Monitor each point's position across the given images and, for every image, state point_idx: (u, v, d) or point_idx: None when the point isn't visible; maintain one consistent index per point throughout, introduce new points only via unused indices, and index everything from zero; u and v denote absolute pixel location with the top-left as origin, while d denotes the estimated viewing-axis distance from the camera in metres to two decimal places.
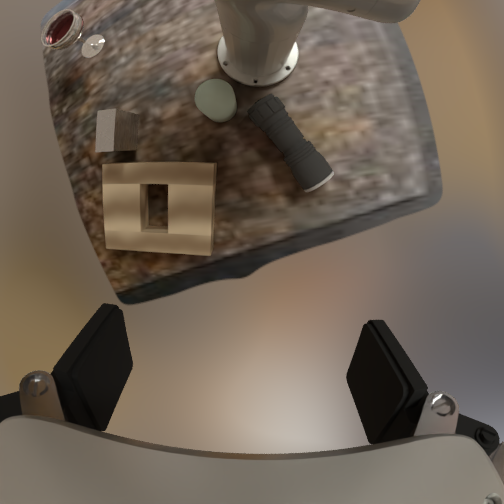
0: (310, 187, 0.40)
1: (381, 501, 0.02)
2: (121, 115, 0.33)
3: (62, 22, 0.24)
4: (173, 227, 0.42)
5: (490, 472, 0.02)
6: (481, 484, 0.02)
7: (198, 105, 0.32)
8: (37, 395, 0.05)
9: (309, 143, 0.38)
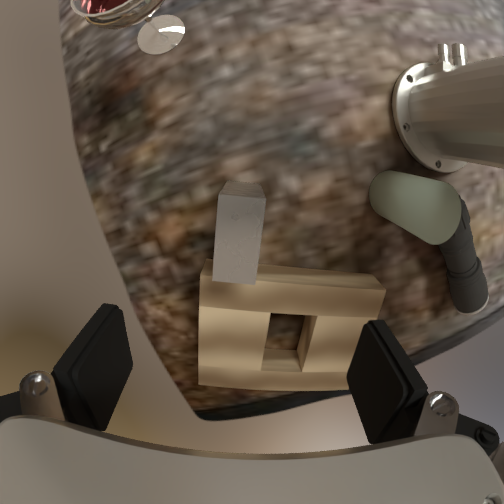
0: (469, 312, 0.27)
1: (381, 501, 0.02)
2: None
3: None
4: (311, 366, 0.29)
5: (490, 472, 0.02)
6: (481, 484, 0.02)
7: (418, 225, 0.18)
8: (37, 395, 0.05)
9: (480, 263, 0.25)
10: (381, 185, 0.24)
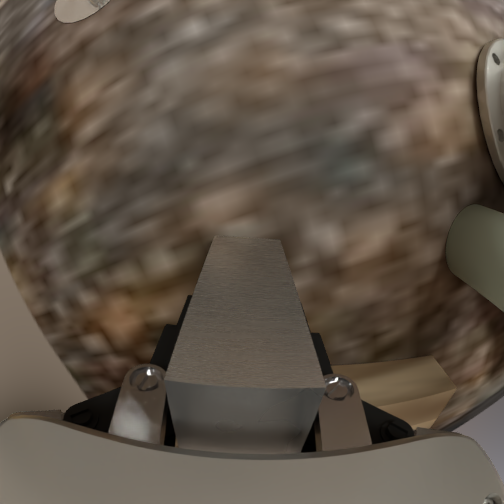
0: None
1: (381, 501, 0.02)
2: None
3: None
4: None
5: (490, 472, 0.02)
6: (481, 484, 0.02)
7: None
8: (142, 389, 0.06)
9: None
10: (473, 236, 0.12)
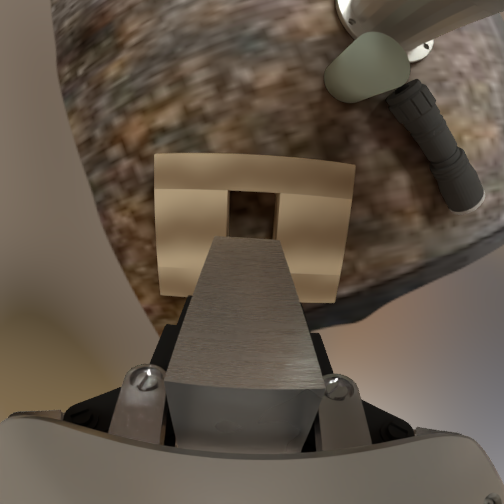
0: (466, 209, 0.24)
1: (381, 501, 0.02)
2: None
3: None
4: None
5: (490, 472, 0.02)
6: (481, 484, 0.02)
7: (360, 66, 0.16)
8: (142, 389, 0.06)
9: None
10: (331, 65, 0.22)
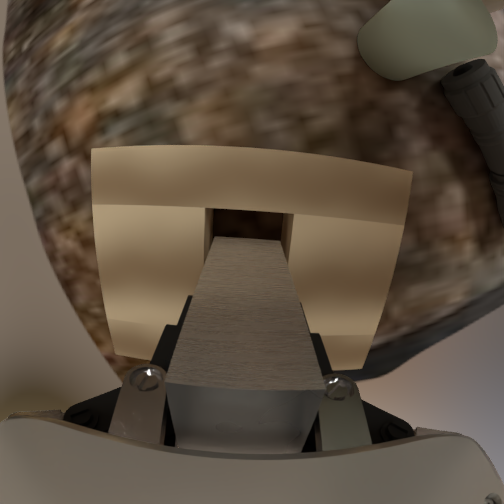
0: None
1: (381, 501, 0.02)
2: None
3: None
4: None
5: (490, 472, 0.02)
6: (481, 484, 0.02)
7: (436, 10, 0.06)
8: (142, 389, 0.06)
9: None
10: (370, 21, 0.12)
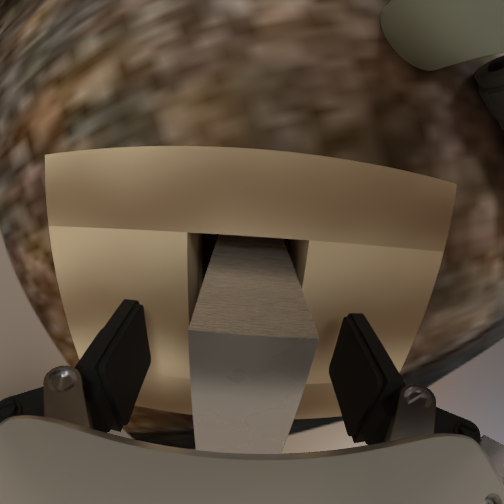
0: None
1: (381, 501, 0.02)
2: None
3: None
4: None
5: (490, 472, 0.02)
6: (481, 484, 0.02)
7: None
8: (61, 390, 0.05)
9: None
10: None
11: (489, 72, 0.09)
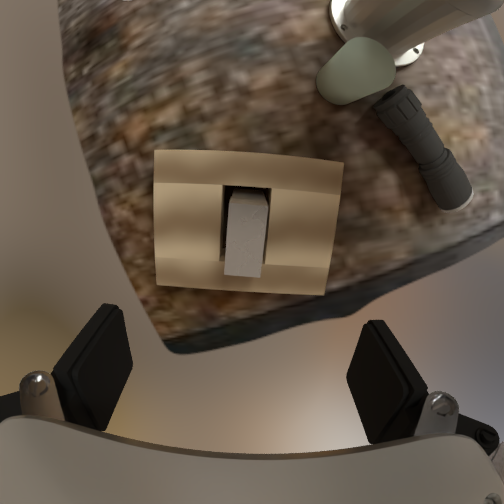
0: (455, 207, 0.26)
1: (381, 501, 0.02)
2: None
3: None
4: (275, 256, 0.28)
5: (490, 472, 0.02)
6: (481, 484, 0.02)
7: (348, 69, 0.18)
8: (37, 395, 0.05)
9: (451, 152, 0.24)
10: (322, 68, 0.24)
11: (381, 101, 0.25)
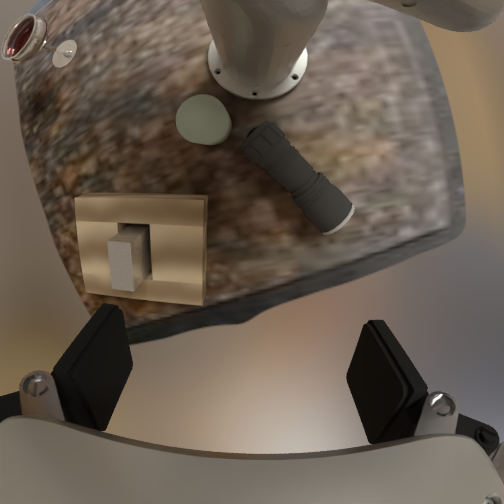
0: (328, 230, 0.33)
1: (381, 501, 0.02)
2: (137, 244, 0.31)
3: (25, 28, 0.18)
4: (159, 274, 0.36)
5: (490, 472, 0.02)
6: (481, 484, 0.02)
7: (180, 130, 0.25)
8: (37, 395, 0.05)
9: (321, 177, 0.32)
10: None
11: None
